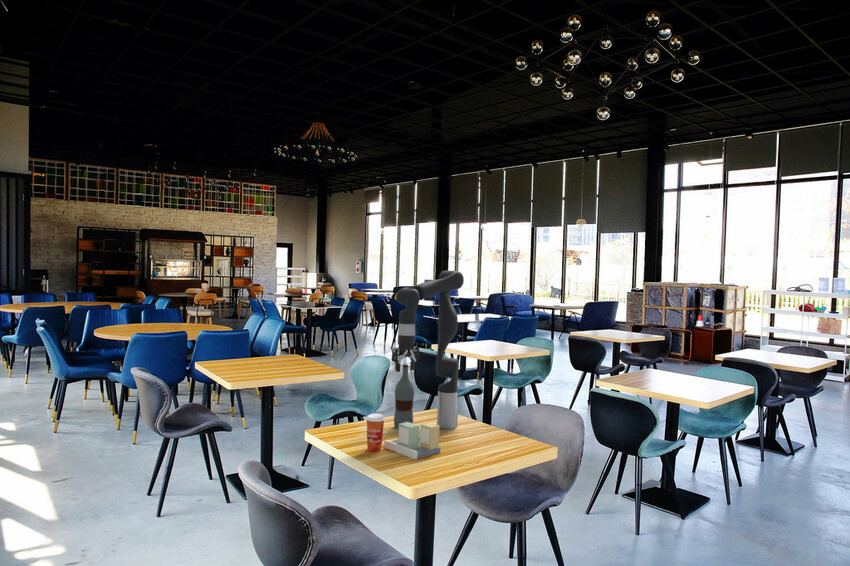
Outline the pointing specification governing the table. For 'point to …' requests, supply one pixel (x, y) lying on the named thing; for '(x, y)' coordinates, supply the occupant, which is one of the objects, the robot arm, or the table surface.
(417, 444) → the tea box
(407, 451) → the display board
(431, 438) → the mustard box
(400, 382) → the bottle
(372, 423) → the paper cup
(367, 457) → the table surface
